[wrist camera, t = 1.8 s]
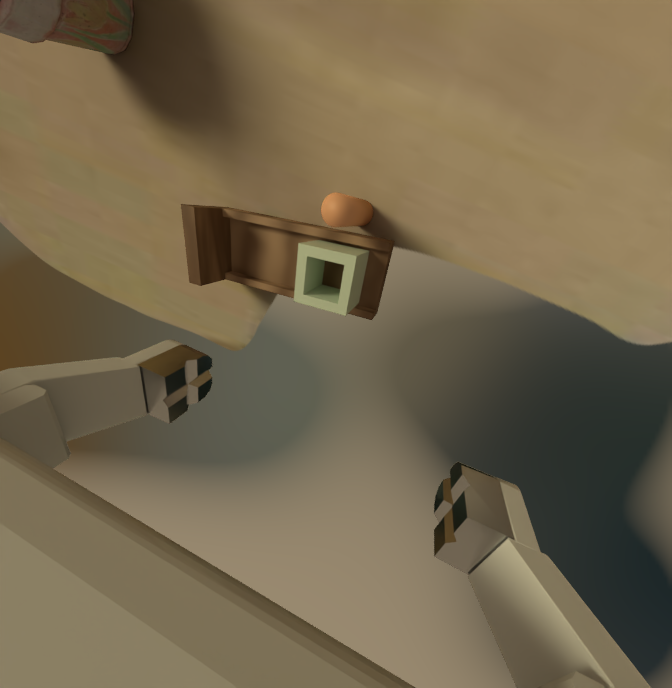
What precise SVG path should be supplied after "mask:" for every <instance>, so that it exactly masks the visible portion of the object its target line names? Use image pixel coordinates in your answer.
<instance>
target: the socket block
mask: <svg viewBox="0 0 672 688" xmlns="http://www.w3.org/2000/svg"><path fill="white" fill-rule="evenodd" d="M368 256H369V251H368V250H364V249H359V248H355V247H350V246H345V245H341V244H336V243H331V242H327V241H322V240H315V241H309V242H302V243H298V255H297V267H296V279H295V291H294V301H295V302H298V303H302V304H305V305H309V306H312V307H316V308H319V309H323V310H326V311H330V312H334V313H337V314H340V315H344V316H346V315H347V314H348V313H349V312H350V311H351V310H352V309H353V308H354V307H355V306H356V305H357V304H358V303H359V300H360V295H361V290H362V285H363V280H364V276H365V271H366V266H367V261H368ZM325 260H326V261H330V262H334V263H338V264H343V265H344V270H343V276H342V282H341V288H340V289H337V288H334V287H330V286H326V285H322V280H323V273H324V265H325Z"/></svg>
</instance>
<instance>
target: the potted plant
mask: <svg viewBox="0 0 672 688" xmlns="http://www.w3.org/2000/svg"><path fill="white" fill-rule="evenodd" d="M133 20H134V8H133V0H0V33H3V34H6V35H9V36H12V37H15V38H18V39H21V40H24V41H27V42H30V43H37V42H43V41H45V40H49V41H54V42H58V43H63V44H67V45H72V46H76V47H81V48H85V49H90V50H94V51H99V52H103V53H108V54H112V55H114V54H117V53H120V52H122V51H124V50H125V49H126V47H127V46H128V44H129V42H130V40H131V38H132V30H133Z"/></svg>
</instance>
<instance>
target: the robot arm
mask: <svg viewBox="0 0 672 688" xmlns="http://www.w3.org/2000/svg"><path fill="white" fill-rule="evenodd" d="M211 367H212V358H210V357H209V356H208V355H206V354H204V353H202V352H200V351H197V350H195V349H193V348H191V347H189V346H187V345H183V344H181V343H179V342H177V341H175V340H166V341H163V342H161V343H159V344H156V345H154V346H151V347H149V348H147V349H144V350H142V351H139V352H137V353H135V354H133V355H130V356H128V357H126V358H123V359H122V358H119V357H115V358H105V359H96V360H86V361H77V362H68V363H58V364H48V365H40V366H30V367H20V368H11V369H7V370H4V371H1V372H0V688H415V687H414V686H412V685H410V684H409V683H407V682H405V681H404V680H402V679H400V678H399V677H397V676H395V675H393V674H392V673H391V672H389V671H387V670H385V669H384V668H382V667H381V666H379V665H377V664H376V663H374V662H372V661H371V660H369V659H367V658H366V657H364V656H362V655H361V654H359V653H357V652H356V651H354V650H352V649H351V648H349V647H347V646H346V645H344V644H343V643H341V642H339V641H338V640H336V639H334V638H333V637H331V636H329V635H327V634H326V633H324V632H323V631H321V630H319V629H318V628H316V627H314V626H313V625H311V624H309V623H308V622H306V621H304V620H303V619H301V618H299V617H298V616H296V615H294V614H293V613H291V612H290V611H288V610H286V609H284V608H283V607H281V606H280V605H278V604H276V603H275V602H273V601H271V600H270V599H268V598H266V597H265V596H263V595H261V594H260V593H258V592H256V591H255V590H253V589H251V588H250V587H248V586H246V585H245V584H243V583H242V582H240V581H238V580H237V579H235V578H233V577H232V576H230V575H228V574H227V573H225V572H223V571H221V570H220V569H218V568H217V567H215V566H213V565H212V564H210V563H208V562H207V561H205V560H203V559H202V558H200V557H199V556H197V555H195V554H193V553H192V552H190V551H188V550H187V549H185V548H184V547H182V546H180V545H179V544H177V543H175V542H174V541H172V540H170V539H169V538H167V537H165V536H164V535H162V534H160V533H159V532H157V531H155V530H154V529H152V528H151V527H149V526H147V525H146V524H144V523H142V522H141V521H139V520H137V519H136V518H134V517H132V516H131V515H129V514H127V513H126V512H124V511H122V510H120V509H119V508H117V507H116V506H114V505H112V504H111V503H109V502H107V501H106V500H104V499H102V498H101V497H99V496H97V495H96V494H94V493H92V492H91V491H89V490H87V489H86V488H84V487H83V486H81V485H79V484H78V483H76V482H74V481H73V480H71V479H69V478H68V477H66V476H64V475H63V474H61V473H59V472H58V471H56V470H54V469H53V468H55V467H56V466H58V465H59V464H61V463H62V462H64V461H65V460H67V459H68V458H69V456H70V454H71V453H70V450H69V448H68V446H67V441H70V440H72V439H76V438H79V437H82V436H85V435H88V434H91V433H94V432H97V431H100V430H103V429H106V428H109V427H112V426H115V425H118V424H121V423H124V422H128V421H131V420H133V419H137V418H140V417H143V416H146V415H147V414H149V415H151V416H154V417H156V418H158V419H160V420H162V421H165V422H167V423H169V424H170V423H172V422H173V421H174V420H176V419H177V418H178V417H179V416H181V415H182V414H184V413H185V412H186V411H187V410H188V406H189V405H190V404H194V403H198V402H199V401H201V400H202V399H203V398H205V396H206V395H207V393H208V392H209V391H210V389H211V386H212V376H211V374H210V372H209V370H210V369H211ZM434 514H435V516H436V518H437V520H438V521H439V524H438V525H437V526H436V528H435V529H434V556H435V557H436V558H438V559H440V560H442V561H444V562H445V563H448V564H449V565H451V566H453V567H455V568H457V569H459V570H460V571H462V572H464V573H466V574H468V578H469V581H470V583H471V585H472V588H473V590H474V592H475V594H476V596H477V599H478V601H479V603H480V605H481V608H482V610H483V612H484V615H485V617H486V619H487V621H488V624H489V626H490V628H491V631H492V633H493V635H494V637H495V639H496V642H497V644H498V646H499V648H500V651H501V653H502V655H503V658H504V660H505V662H506V664H507V667H508V669H509V671H510V673H511V676H512V678H513V680H514V683H515V685H516V687H517V688H651V687H650V686H649V685H648V684H647V682H646V681H645V680H644V678H643V677H642V676H641V674H640V673H639V672H638V671H637V669H636V668H635V667H634V665H633V664H632V663H631V662H630V660H629V659H628V658H627V656H626V655H625V654H624V653H623V651H622V650H621V649H620V648H619V646H618V645H617V644H616V643H615V641H614V640H613V639H612V637H611V636H610V635H609V634H608V632H607V631H606V630H605V629H604V627H603V626H602V625H601V623H600V622H599V621H598V619H597V618H596V617H595V616H594V614H593V613H592V612H591V611H590V609H589V608H588V607H587V606H586V604H585V603H584V602H583V600H582V599H581V598H580V596H579V595H578V594H577V593H576V591H575V590H574V589H573V588H572V586H571V585H570V584H569V583H568V581H567V580H566V579H565V577H564V576H563V575H562V573H561V572H560V571H559V570H558V568H557V567H556V566H555V565H554V563H553V562H552V561H551V559H550V558H549V557H548V556H547V555H545V554H543V553H541V552H540V549H539V546H538V543H537V540H536V537H535V534H534V531H533V528H532V525H531V522H530V519H529V516H528V513H527V510H526V507H525V504H524V501H523V498H522V495H521V492H520V490H519V489H518V487H517V486H516V485H514V484H511V483H509V482H506V481H504V480H501V479H499V478H497V477H493V476H491V475H489V474H486V473H484V472H482V471H479V470H476V469H474V468H472V467H470V466H467V465H465V464H462V463H460V462H457V463H455V464H454V465H453V466H452V468H451V469H450V478H447V479H445V480H443V481H442V482H441V484H440V486H439V487H438V490H437V493H436V496H435V503H434Z"/></svg>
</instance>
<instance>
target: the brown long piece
mask: <svg viewBox="0 0 672 688" xmlns="http://www.w3.org/2000/svg"><path fill="white" fill-rule="evenodd" d="M181 209H182V218H183V227H184V237H185V246H186V255H187V264H188V273H189V282H190V283H193V284H196V285H200V286H202V285H206V284H209V283H213V282H217V281H221V280H224V279H227V280H230V281H234V282H237V283H241V284H245V285H248V286H252V287H255V288H259V289H262V290H266V291H270V292H273V293H277V294H280V295H284V296H288V297H291V298H294V291H295V279H296V267H297V255H298V243H302V242H309V241H315V240H322V241H327V242H331V243H336V244H341V245H345V246H350V247H355V248H359V249H364V250H368V251H369V256H368V261H367V266H366V271H365V276H364V280H363V285H362V290H361V295H360V300H359V303H358V304H357V305H356V306H355V307H354V308H353V309H352V310H351V311H350V312H349V313H348V314H352V315H355V316H359V317H362V318H366V319H369V320H372V319H373V318H374V316H375V315H376V313H377V311H378V307H379V302H380V298H381V294H382V291H383V286H384V282H385V278H386V274H387V270H388V266H389V262H390V258H391V254H392V250H393V246H394V242H395V241H392V240H387V239H382V238H377V237H372V236H367V235H362V234H357V233H353V232H348V231H343V230H338V229H333V228H328V227H323V226H318V225H313V224H308V223H303V222H298V221H293V220H288V219H283V218H278V217H273V216H268V215H264V214H259V213H254V212H249V211H244V210H239V209H234V208H229V207H216V206H200V205H185V204H181ZM343 270H344V265H343V264H338V263H334V262H330V261H326V260H325V265H324V273H323V280H322V285H326V286H330V287H334V288H337V289H340V288H341V282H342V276H343Z"/></svg>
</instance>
